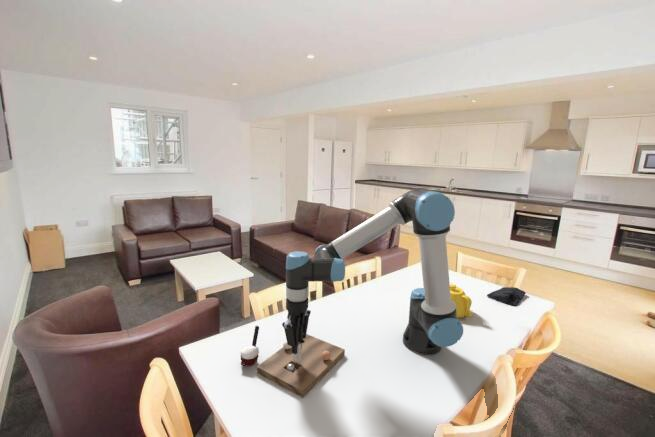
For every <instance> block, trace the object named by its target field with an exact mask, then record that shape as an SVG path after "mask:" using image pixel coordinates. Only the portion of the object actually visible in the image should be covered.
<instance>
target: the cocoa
mask: <svg viewBox="0 0 655 437" xmlns="http://www.w3.org/2000/svg"><path fill="white" fill-rule="evenodd" d="M259 331H260V326H258V325H255V326H254V332H253V338H252V344H251V345H248V346H246V347H244V348H242V349H241V350H240V352H239V354H240V360H241V361H240V365H241V367H251V366H254V365H256V363H257V362H258V360H259V353H260V350H259V347H258V346H257V342H258V336H259Z"/></svg>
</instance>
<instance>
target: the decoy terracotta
mask: <svg viewBox="0 0 655 437" xmlns="http://www.w3.org/2000/svg"><path fill="white" fill-rule="evenodd" d="M330 357H331V354H330V352H329V351H324V352H323V353H322V358H323V359H324V360H329V359H330Z"/></svg>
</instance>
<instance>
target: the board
mask: <svg viewBox="0 0 655 437" xmlns="http://www.w3.org/2000/svg"><path fill="white" fill-rule="evenodd" d="M303 334H304V333H303ZM303 340H304V341H305V342H304V343H302V349H301V361H300V362H297V361H294V360H292V346H291V348H290V349H285V348H284V346H282V348H280V349H279V350H277V351H276V352H275V353H273V354H271V355H270V356H269V357H268V358H266V359H265V360H264V361H262V362H261V363H259V364H258V365H257V366H256V374H257V375H259V376H261V377H263V378H265V379H267V380H268V381H271V382H272V383H274V384H276V385H278V386H280V387H282V388H284V389H286V391H289V392H291V393H293V394H294V395H296V396H298V397H300V398H302V399H304V398H305V397H306V396H307V395H308V393H310V391H312V389H314V387H315V386H316V385H317V384H318V383H319V382H320V381H322V379H324V377H326V375H327V374H328V373H329V372H330V371H331V370H332V369H333V368H334V367H335V366H336V365H337V364H338V363H339V362H340V361H341V360H342V359H343V357H344V356H345V353H346V352H345V350H346V349H345V348H342V347H339V346H337V345H334V344H332V343H330V342H327V341H324V340H323V339H319V338H317V337H315V336H312V335H310V334H307V333H306V338H303ZM324 351H329V352H330V354H331V357H330V359H329V360H324V359H323V358H322V353H323V352H324ZM288 364H293V365H294V366H295V371H294V373H292V372H290V371H288V370H286V367H287V365H288Z"/></svg>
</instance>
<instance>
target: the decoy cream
mask: <svg viewBox="0 0 655 437" xmlns="http://www.w3.org/2000/svg"><path fill="white" fill-rule="evenodd" d="M282 345H283V346H282V347H284V348H285V349H290V348H291V346H290V345H288V344H287V339H286V340H284V341H283V344H282Z"/></svg>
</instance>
